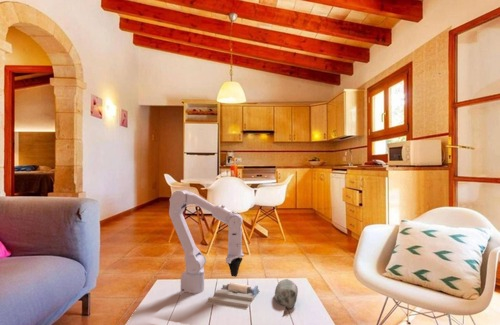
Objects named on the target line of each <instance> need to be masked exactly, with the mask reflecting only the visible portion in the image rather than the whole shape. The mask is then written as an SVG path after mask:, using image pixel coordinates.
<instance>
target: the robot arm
mask: <svg viewBox="0 0 500 325" xmlns="http://www.w3.org/2000/svg"><path fill="white" fill-rule="evenodd" d="M168 201H169V210H168V215H169V217H170V221H171V223H172V226H173V227H174V230H175V232H176V234H177V237H178V240H179V242H180V244H181V247H182V249H183V251H184V259H183V260H184V262H185V270H184V271H183V272H182V273H181V277H180V290H179V291H180V293H178V294H179V296H181V295H182V294H185V293H190V294H199V293H203V292H204V291H205V268H204V266H205V265H206V263H207V262H206V260H207V259H206V257H205V256H204V254H202V252H201V250H200V249H199V248H198V247H197V245H196V243H195V240H194V238H193V235H192V233H191V231H190V229H189V228H190V227H188V226H189V225H188V224H187V221H186V219H185V217H184V211H185V209H186V207H187V206H188V205H196V206H198V207H199V208H202V209H204V210H206V211H208V212H210V213H211V216H212V218H215V219H216V220H217V221H220V222H222V223H224V224H225V225H227V226H228V234H227V237H228V240H227V253H226V254H227V255H226V257H225V264H228V267H229V270H230V274H231V277H237V276H238V274H239V270H240V266H241V264H242V261H243V257H244V256H245V254H244V250H243V248H242V247H243V245H242V243H243V226H242V224H243V223H244V218H243V216H242V215H241V214H240V213H239V212H236V211H234V210H229V209H228V208H226V206H225V205H224V204H222V205H221V204H217V205H215V204H213V203H211V202H210V201H209V200H206V199H205V198H203V197H202V196H200V195H198V194H196V193H195V192H193V191H190V190H188V189H181V190H176V191H174V192H172V194H171V196H170V198H169V200H168Z"/></svg>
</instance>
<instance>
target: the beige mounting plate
mask: <svg viewBox="0 0 500 325" xmlns="http://www.w3.org/2000/svg"><path fill="white" fill-rule="evenodd" d="M226 287H227V284H222V288H221V289H217V290H216V291H214V296H212V297H208V298H207V302H206V304H209V305H215V306H219V307H227V308H234V309H239V310H247V309H248V307H250V305H251V304H252V303H253V301H254V300H255V298H256V297H257V296H258V294H260V289H259V285H255V286H254V287H253V288H252V287H251V293H248V294H244V293H238V291H236V290H233V292H231V291H228V290H227V289H226Z"/></svg>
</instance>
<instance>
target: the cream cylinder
mask: <svg viewBox="0 0 500 325" xmlns="http://www.w3.org/2000/svg"><path fill="white" fill-rule="evenodd" d="M226 285H227V287H226V289H227V290H228V291H231V292H233V290H236V291H238V293H244V294H248V293H251V288H252V287H251V286H250V285H249V284H244V283H236V282H229V283H227V284H226Z"/></svg>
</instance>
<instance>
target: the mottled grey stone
mask: <svg viewBox="0 0 500 325" xmlns="http://www.w3.org/2000/svg"><path fill="white" fill-rule="evenodd" d="M298 292H299V290H298V286H297V284H296V283H295V282H294V281H292V279H291V280H290V279H288V278H284V279H281V280H280V281H279V282H278V283H277V285H276V287H275V291H274V298H275V301H276V302H277V303H278V304H279V305H281V306H285V309H288V310H289V309H292V308H294V306H295V305H296V302H297V298H298V295H299V294H298Z"/></svg>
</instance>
